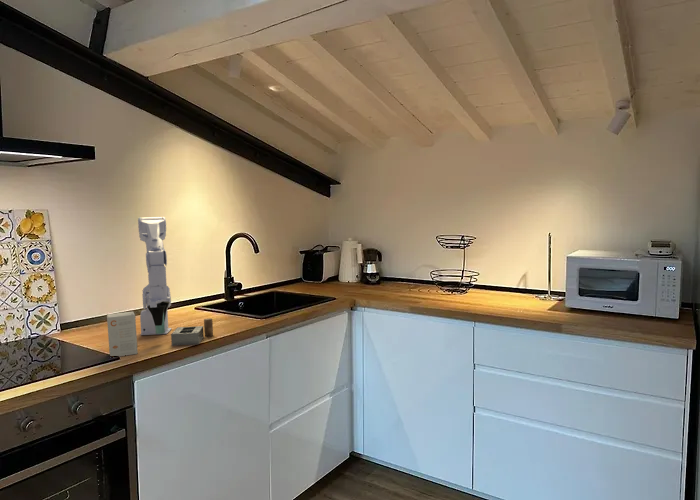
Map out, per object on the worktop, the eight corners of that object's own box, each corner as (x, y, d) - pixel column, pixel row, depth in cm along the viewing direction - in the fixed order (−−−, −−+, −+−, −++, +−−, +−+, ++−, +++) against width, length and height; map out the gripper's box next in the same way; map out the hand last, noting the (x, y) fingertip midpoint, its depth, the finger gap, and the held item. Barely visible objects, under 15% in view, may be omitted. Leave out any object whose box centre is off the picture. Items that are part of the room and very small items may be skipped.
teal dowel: (154, 334, 172) (153, 311, 171) (156, 331, 175) (155, 309, 174) (163, 333, 173) (162, 310, 172) (165, 331, 175) (164, 308, 175)
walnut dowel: (203, 336, 182) (203, 320, 182) (205, 334, 185) (204, 318, 185) (212, 336, 182) (211, 320, 182) (213, 334, 185) (212, 318, 185)
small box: (136, 349, 167) (133, 311, 166) (137, 354, 161) (135, 314, 160) (109, 353, 163) (106, 313, 162) (110, 358, 157) (107, 317, 156)
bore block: (171, 345, 171) (171, 334, 170) (178, 338, 180) (177, 327, 180) (198, 344, 172) (198, 332, 171) (203, 337, 182) (203, 326, 181)
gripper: (164, 288, 166) (166, 328, 167) (174, 281, 180) (176, 318, 181) (142, 289, 165) (144, 329, 166) (154, 282, 179) (156, 319, 180)
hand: (159, 324), depth 174 cm, fingers closed on teal dowel, 3 cm apart
